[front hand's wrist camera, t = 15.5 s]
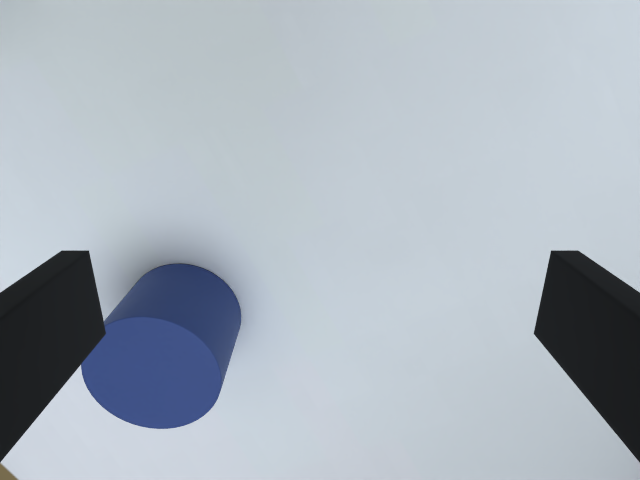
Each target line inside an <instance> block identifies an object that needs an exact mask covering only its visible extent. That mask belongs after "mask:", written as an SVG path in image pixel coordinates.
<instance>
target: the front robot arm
mask: <svg viewBox="0 0 640 480" xmlns="http://www.w3.org/2000/svg"><path fill="white" fill-rule="evenodd" d="M105 335H106V331H105V326H104V321H103V316H102V312H101V307H100V302H99V297H98V292H97V288H96V283H95V278H94V273H93V268H92V264H91V259H90V254H89V251H61V252H59V253H58V254H56V255H55V256H53V257H52V258H50V259H49V260H47V261H46V262H45V263H43V264H42V265H40V266H39V267H37V268H36V269H34V270H33V271H31V272H30V273H28V274H27V275H26V276H24V277H23V278H21V279H20V280H18V281H17V282H15V283H14V284H12V285H11V286H9V287H8V288H7V289H5V290H4V291H2V292H1V293H0V462H1V461H2V460H3V458H4V457H5V456H6V455H7V453H8V452H9V451H10V450H11V449H12V447H13V446H14V445H15V444H16V443H17V441H18V440H19V439H20V438H21V436H22V435H23V434H24V433H25V432H26V430H27V429H28V428H29V427H30V426H31V424H32V423H33V422H34V421H35V419H36V418H37V417H38V416H39V415H40V413H41V412H42V411H43V410H44V409H45V407H46V406H47V405H48V404H49V402H50V401H51V400H52V399H53V398H54V396H55V395H56V394H57V393H58V392H59V390H60V389H61V388H62V387H63V385H64V384H65V383H66V382H67V381H68V379H69V378H70V377H71V376H72V375H73V373H74V372H75V371H76V370H77V369H78V367H79V366H80V365H81V364H82V362H83V361H84V360H85V359H86V358H87V356H88V355H89V354H90V353H91V352H92V350H93V349H94V348H95V347H96V345H97V344H98V343H99V342H100V341H101V339H102V338H103V337H104V336H105ZM534 335H535V336H536V337H537V338H538V339H539V341H540V342H541V343H542V344H543V345H544V347H545V348H546V349H547V350H548V352H549V353H550V354H551V355H552V356H553V358H554V359H555V360H556V361H557V362H558V364H559V365H560V366H561V367H562V369H563V370H564V371H565V372H566V373H567V375H568V376H569V377H570V378H571V379H572V381H573V382H574V383H575V384H576V385H577V387H578V388H579V389H580V390H581V392H582V393H583V394H584V395H585V396H586V398H587V399H588V400H589V401H590V402H591V404H592V405H593V406H594V407H595V409H596V410H597V411H598V412H599V413H600V415H601V416H602V417H603V418H604V419H605V421H606V422H607V423H608V424H609V426H610V427H611V428H612V429H613V430H614V432H615V433H616V434H617V435H618V436H619V438H620V439H621V440H622V441H623V443H624V444H625V445H626V446H627V447H628V449H629V450H630V451H631V452H632V453H633V455H634V456H635V457H636V458H637V460H638V461H639V462H640V293H639V292H638V291H636V290H635V289H633V288H632V287H631V286H629V285H628V284H626V283H625V282H623V281H622V280H620V279H619V278H617V277H616V276H614V275H613V274H612V273H610V272H609V271H607V270H606V269H604V268H603V267H601V266H600V265H598V264H597V263H595V262H594V261H593V260H591V259H590V258H588V257H587V256H585V255H584V254H582V253H581V252H579V251H551V254H550V259H549V264H548V268H547V273H546V278H545V283H544V288H543V292H542V297H541V302H540V307H539V312H538V316H537V321H536V326H535V331H534Z"/></svg>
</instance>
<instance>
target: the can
mask: <svg viewBox="0 0 640 480" xmlns="http://www.w3.org/2000/svg"><path fill="white" fill-rule="evenodd" d="M240 324H241V311H240V306H239V303H238V301H237V298H236V296H235V295H234V293H233V291H232V290H231V289H230V287H229V286H228V285H227V284H226V283H225V282H224V281H223V280H222V279H220V278H219V277H218V276H216V275H215V274H213V273H212V272H210V271H207V270H205V269H203V268H200V267H197V266H193V265H188V264H170V265H164V266H161V267H158V268H155V269H153V270H151V271H149V272H148V273H146V274H145V275H144V276H143V277H141V278H140V280H139V281H138V282H137V283H136V284H135V285H134V286H133V288H132V289H131V290H130V291H129V292H128V294H127V295H126V296H125V297H124V298H123V300H122V301H121V302H120V303H119V304H118V305H117V307H116V308H115V309H114V310H113V311H112V313H111V314H110V315H109V316H108V317H107V319H106V320H105V321H104V326H105V331H106V335H105V336H104V337H103V338H102V339H101V341H100V342H99V343H98V344H97V345H96V347H95V348H94V349H93V350H92V352H91V353H90V354H89V355H88V356H87V358H86V359H85V360H84V361H83V362H82V364H81V369H82V375H83V379H84V382H85V384H86V386H87V388H88V390H89V391H90V393H91V395H92V396H93V397H94V398H95V400H96V401H97V402H98V403H99V404H100V405H101V406H102V407H103V408H105V409H106V410H107V411H108V412H110V413H111V414H113V415H115V416H116V417H118V418H120V419H122V420H124V421H126V422H129V423H131V424H134V425H138V426H142V427H147V428H156V429H168V428H176V427H180V426H184V425H187V424H190V423H192V422H194V421H196V420H198V419H199V418H201V417H202V416H204V415H205V414H206V413H207V412H208V411H209V410H210V409H211V408H212V407H213V405H214V404H215V402H216V401H217V399H218V396H219V394H220V391H221V388H222V384H223V381H224V378H225V375H226V371H227V368H228V365H229V361H230V358H231V355H232V352H233V348H234V345H235V342H236V339H237V335H238V332H239V329H240Z"/></svg>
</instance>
